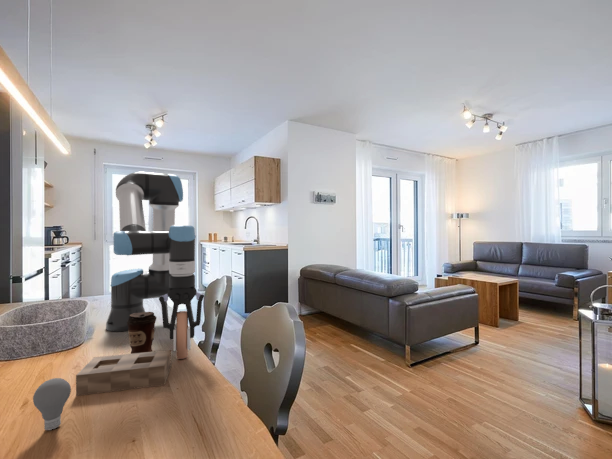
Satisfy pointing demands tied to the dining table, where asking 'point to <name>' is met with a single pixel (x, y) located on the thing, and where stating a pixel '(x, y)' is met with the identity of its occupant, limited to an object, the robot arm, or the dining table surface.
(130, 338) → the coffee cup
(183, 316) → the dowel
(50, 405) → the light bulb
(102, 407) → the dining table surface
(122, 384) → the bore block
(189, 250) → the robot arm
